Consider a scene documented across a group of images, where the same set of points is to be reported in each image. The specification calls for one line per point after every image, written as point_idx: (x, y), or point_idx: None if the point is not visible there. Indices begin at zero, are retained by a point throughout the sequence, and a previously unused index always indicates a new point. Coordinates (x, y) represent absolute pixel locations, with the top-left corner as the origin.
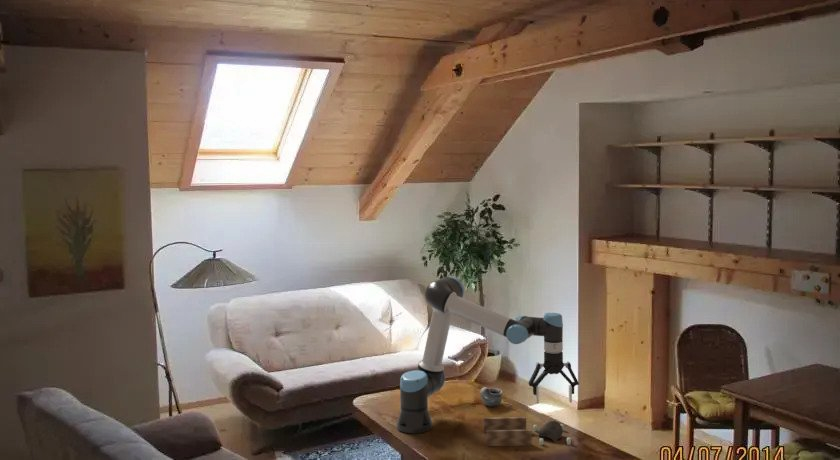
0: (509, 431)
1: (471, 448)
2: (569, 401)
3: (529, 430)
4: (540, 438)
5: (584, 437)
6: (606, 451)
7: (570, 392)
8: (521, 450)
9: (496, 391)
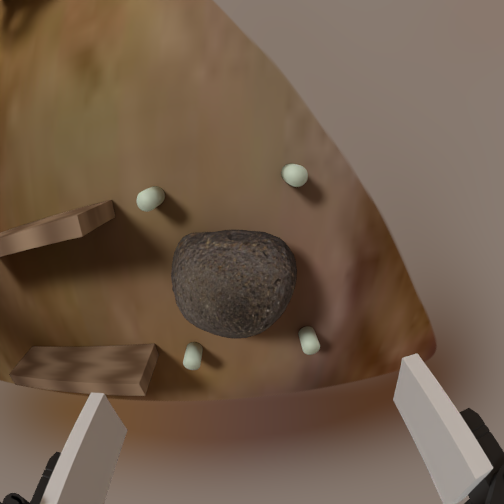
0: (69, 391)
1: None
2: (398, 385)
3: (135, 393)
4: (187, 360)
5: (383, 253)
6: None
7: (431, 465)
8: None
9: None
